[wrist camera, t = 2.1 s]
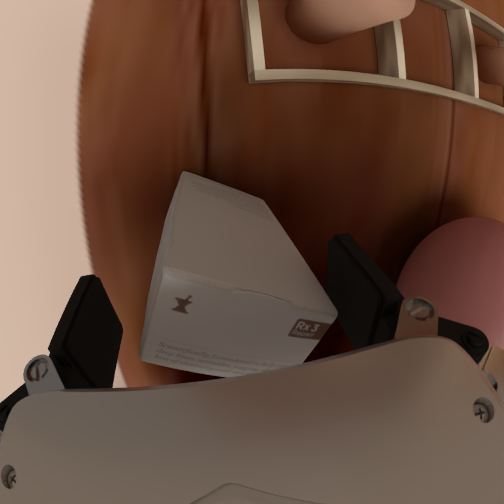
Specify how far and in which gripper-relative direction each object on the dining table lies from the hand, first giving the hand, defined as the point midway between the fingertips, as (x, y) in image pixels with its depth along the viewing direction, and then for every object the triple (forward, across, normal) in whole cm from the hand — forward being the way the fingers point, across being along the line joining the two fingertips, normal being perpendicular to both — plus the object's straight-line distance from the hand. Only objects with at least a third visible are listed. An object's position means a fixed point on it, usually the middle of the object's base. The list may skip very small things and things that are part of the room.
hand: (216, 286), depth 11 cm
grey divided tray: (+9, -17, -12) cm, 23 cm away
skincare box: (+10, 0, +1) cm, 10 cm away
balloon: (+9, -22, +9) cm, 26 cm away
